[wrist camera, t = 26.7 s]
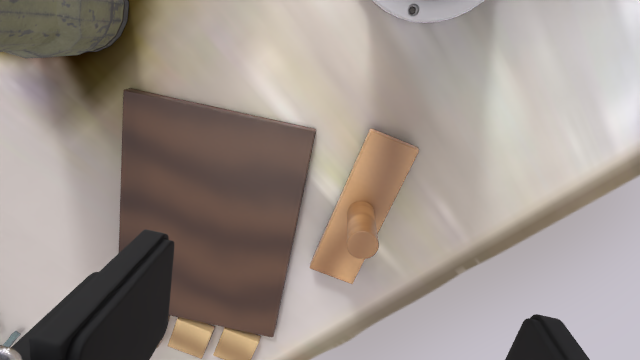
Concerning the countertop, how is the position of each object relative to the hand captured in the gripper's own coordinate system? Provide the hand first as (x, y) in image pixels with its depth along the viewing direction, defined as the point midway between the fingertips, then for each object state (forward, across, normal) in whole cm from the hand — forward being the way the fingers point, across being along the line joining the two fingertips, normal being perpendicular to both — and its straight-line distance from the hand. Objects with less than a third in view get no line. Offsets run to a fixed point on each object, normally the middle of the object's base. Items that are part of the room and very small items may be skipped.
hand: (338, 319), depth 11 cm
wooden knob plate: (+26, -3, +8) cm, 28 cm away
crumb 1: (+26, +11, +27) cm, 40 cm away
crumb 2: (+26, +6, +27) cm, 38 cm away
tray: (+26, +11, +13) cm, 31 cm away
